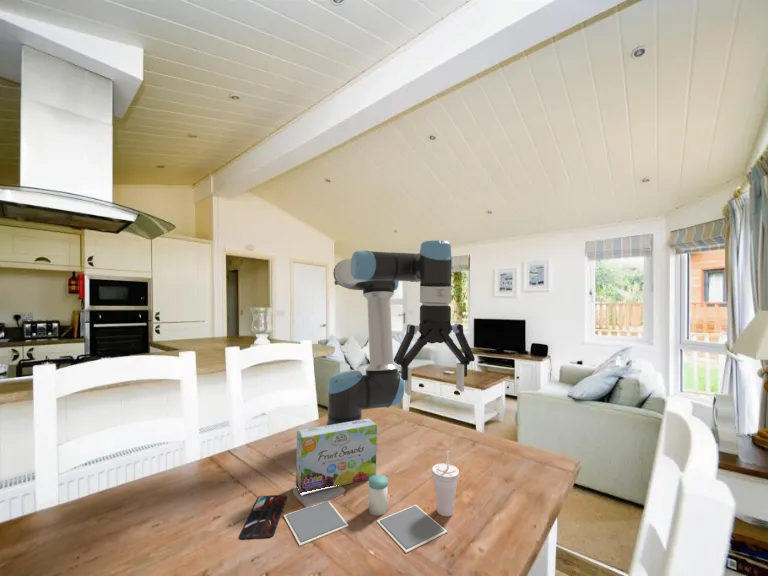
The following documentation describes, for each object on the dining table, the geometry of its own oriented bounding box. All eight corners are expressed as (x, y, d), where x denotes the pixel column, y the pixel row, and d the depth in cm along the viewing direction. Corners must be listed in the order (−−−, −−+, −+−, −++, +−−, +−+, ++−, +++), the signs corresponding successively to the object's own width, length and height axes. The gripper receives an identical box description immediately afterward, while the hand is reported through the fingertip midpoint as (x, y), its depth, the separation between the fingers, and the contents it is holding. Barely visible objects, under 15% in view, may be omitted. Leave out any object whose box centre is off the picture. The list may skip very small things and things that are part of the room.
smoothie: (459, 522, 76) (459, 459, 76) (430, 518, 77) (430, 456, 78) (459, 504, 82) (459, 446, 83) (432, 501, 84) (432, 444, 84)
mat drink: (376, 521, 76) (376, 519, 76) (415, 505, 82) (415, 503, 82) (406, 553, 67) (406, 551, 67) (447, 532, 73) (447, 530, 73)
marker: (365, 507, 81) (365, 478, 81) (380, 501, 84) (381, 472, 84) (374, 518, 77) (375, 487, 77) (391, 511, 80) (391, 481, 80)
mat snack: (283, 516, 78) (283, 514, 78) (328, 500, 84) (328, 499, 84) (299, 546, 69) (299, 544, 69) (348, 526, 75) (348, 524, 75)
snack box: (300, 498, 85) (301, 437, 85) (295, 487, 90) (296, 429, 90) (377, 477, 95) (377, 423, 95) (368, 468, 100) (368, 416, 100)
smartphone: (237, 538, 70) (258, 495, 85) (237, 542, 70) (258, 498, 85) (273, 537, 71) (287, 494, 86) (273, 540, 71) (287, 497, 86)
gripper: (390, 305, 76) (389, 400, 76) (489, 305, 83) (488, 392, 82) (382, 303, 84) (381, 390, 83) (473, 303, 90) (473, 384, 90)
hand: (434, 391), depth 83 cm, fingers open, 13 cm apart
